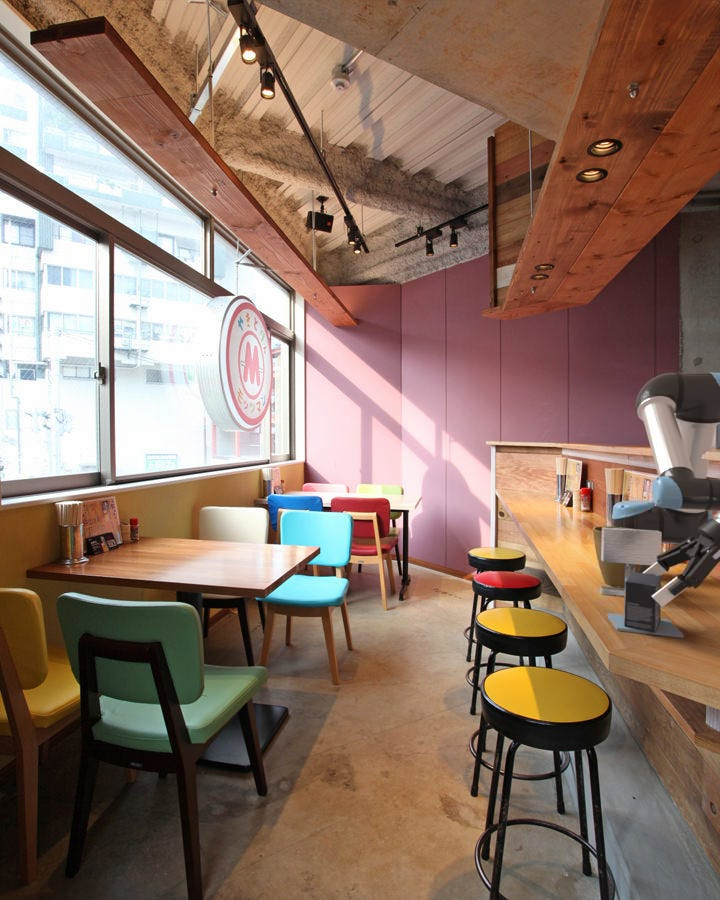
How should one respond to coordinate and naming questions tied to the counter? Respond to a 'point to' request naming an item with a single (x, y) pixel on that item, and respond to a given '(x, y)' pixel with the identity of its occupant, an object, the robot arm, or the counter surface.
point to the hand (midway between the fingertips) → (647, 592)
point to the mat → (663, 629)
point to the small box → (642, 602)
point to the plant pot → (610, 570)
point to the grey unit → (629, 551)
